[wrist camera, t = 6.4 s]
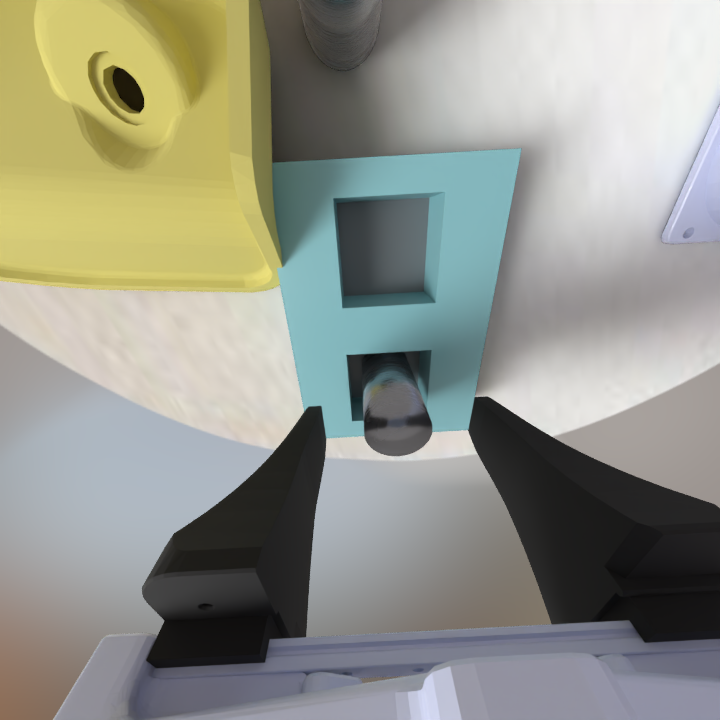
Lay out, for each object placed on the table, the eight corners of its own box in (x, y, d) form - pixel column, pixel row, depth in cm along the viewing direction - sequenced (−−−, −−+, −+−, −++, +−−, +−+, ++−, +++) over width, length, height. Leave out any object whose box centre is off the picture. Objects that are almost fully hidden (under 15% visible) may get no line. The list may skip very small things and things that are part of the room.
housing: (485, 164, 12) (521, 148, 10) (452, 401, 19) (468, 429, 16) (277, 176, 12) (256, 163, 10) (315, 409, 19) (309, 439, 16)
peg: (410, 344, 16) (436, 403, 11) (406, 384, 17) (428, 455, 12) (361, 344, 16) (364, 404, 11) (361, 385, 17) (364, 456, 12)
